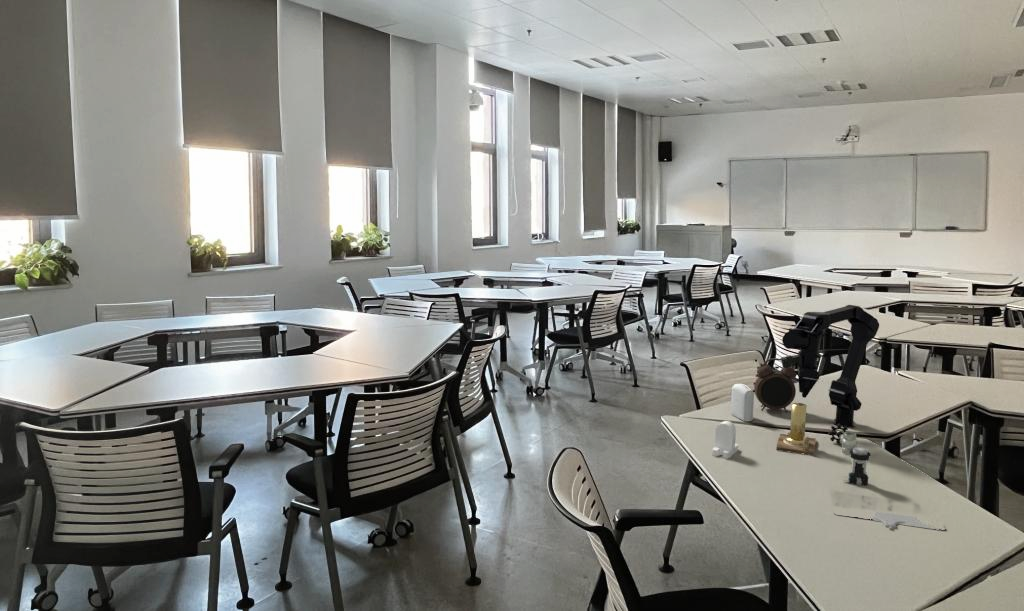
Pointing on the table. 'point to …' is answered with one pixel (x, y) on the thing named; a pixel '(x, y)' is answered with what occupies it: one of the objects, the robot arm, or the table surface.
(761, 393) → the alarm clock
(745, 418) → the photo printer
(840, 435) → the valve
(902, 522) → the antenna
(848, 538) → the table surface
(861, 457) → the black white upright piece
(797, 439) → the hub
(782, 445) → the base plate
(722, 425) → the white phone stand
